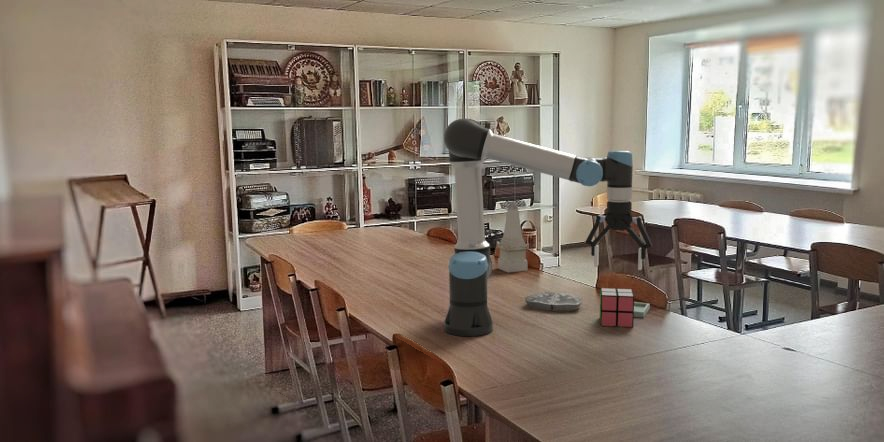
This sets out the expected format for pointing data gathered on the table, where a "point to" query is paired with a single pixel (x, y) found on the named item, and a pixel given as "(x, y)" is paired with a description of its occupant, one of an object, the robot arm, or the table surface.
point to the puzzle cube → (616, 307)
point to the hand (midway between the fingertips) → (617, 267)
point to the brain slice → (553, 301)
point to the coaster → (640, 309)
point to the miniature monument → (512, 244)
